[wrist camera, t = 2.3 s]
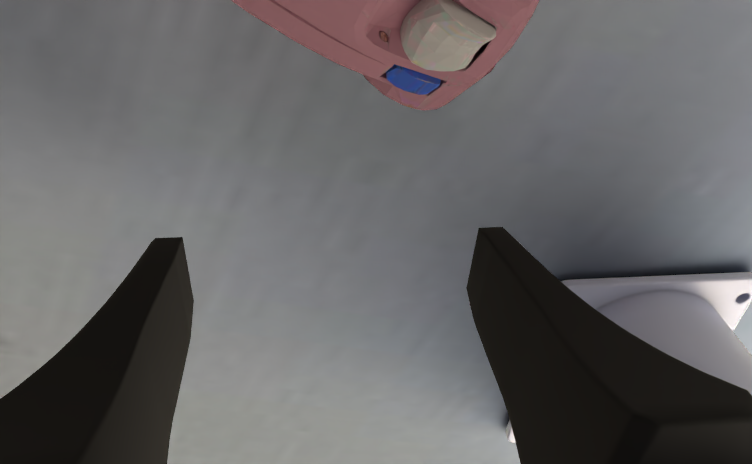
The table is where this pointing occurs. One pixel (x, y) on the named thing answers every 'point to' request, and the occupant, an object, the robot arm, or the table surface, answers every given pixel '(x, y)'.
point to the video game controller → (404, 40)
